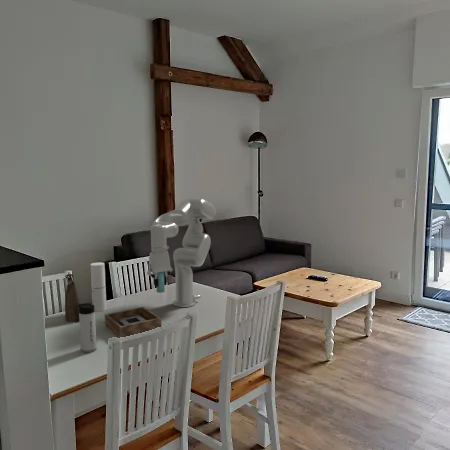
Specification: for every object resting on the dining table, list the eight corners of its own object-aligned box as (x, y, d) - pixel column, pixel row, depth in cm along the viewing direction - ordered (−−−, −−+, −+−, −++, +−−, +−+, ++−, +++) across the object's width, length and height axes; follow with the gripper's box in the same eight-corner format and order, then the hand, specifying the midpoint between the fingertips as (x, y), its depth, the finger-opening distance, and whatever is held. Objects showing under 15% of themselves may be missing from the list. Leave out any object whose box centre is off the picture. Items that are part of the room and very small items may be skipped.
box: (143, 318, 222) (143, 306, 221) (161, 330, 206) (161, 318, 205) (105, 326, 211) (104, 314, 210) (120, 340, 195) (120, 327, 194)
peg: (162, 289, 223) (161, 270, 222) (166, 291, 220) (165, 272, 219) (155, 291, 221) (154, 271, 220) (158, 293, 218) (158, 273, 216)
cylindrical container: (102, 312, 232) (100, 265, 228) (90, 311, 233) (87, 265, 229) (108, 307, 238) (106, 262, 235) (96, 306, 240) (94, 262, 236)
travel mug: (82, 347, 188) (79, 302, 185) (97, 346, 188) (95, 301, 185) (78, 353, 181) (76, 306, 179) (94, 352, 182) (92, 306, 179)
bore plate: (138, 320, 216) (138, 315, 215) (147, 327, 207) (147, 321, 207) (118, 325, 210) (118, 319, 209) (126, 332, 201) (126, 326, 201)
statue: (62, 322, 216) (60, 272, 214) (67, 317, 224) (66, 269, 221) (79, 322, 216) (78, 272, 214) (84, 317, 224) (83, 269, 222)
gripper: (170, 246, 225) (171, 280, 228) (140, 250, 216) (141, 286, 219) (177, 248, 219) (178, 284, 222) (146, 253, 209) (148, 290, 212)
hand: (160, 284), depth 220 cm, fingers closed on peg, 4 cm apart
